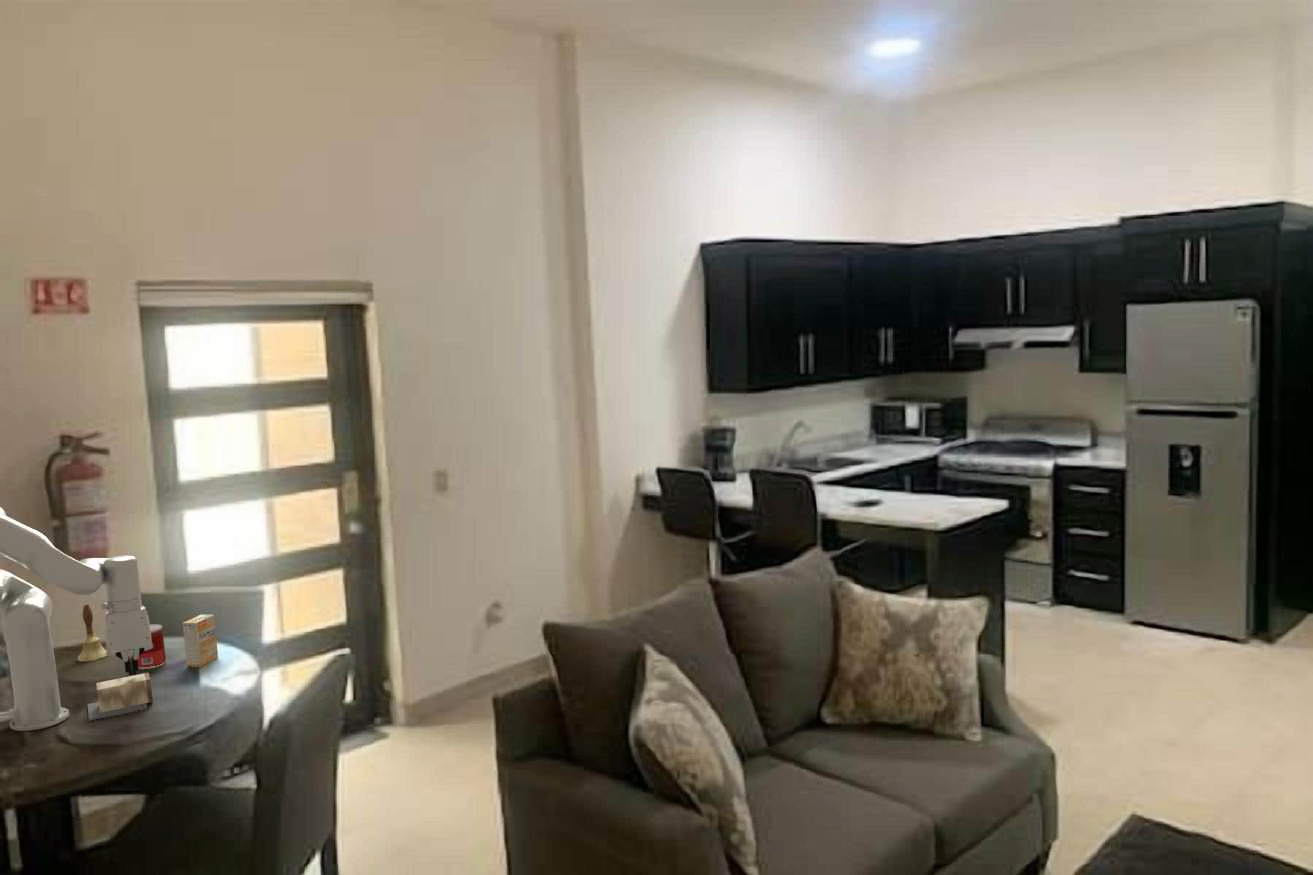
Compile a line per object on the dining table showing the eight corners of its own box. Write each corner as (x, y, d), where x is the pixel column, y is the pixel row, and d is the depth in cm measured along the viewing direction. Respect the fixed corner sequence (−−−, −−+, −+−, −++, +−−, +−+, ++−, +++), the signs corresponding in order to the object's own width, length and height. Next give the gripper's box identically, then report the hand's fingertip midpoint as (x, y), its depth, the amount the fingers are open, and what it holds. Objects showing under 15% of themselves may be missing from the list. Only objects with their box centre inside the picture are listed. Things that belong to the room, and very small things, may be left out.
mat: (89, 721, 253) (88, 719, 252) (87, 706, 263) (87, 704, 263) (147, 708, 259) (147, 706, 259) (143, 694, 269) (143, 692, 269)
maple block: (152, 701, 262) (100, 712, 256) (150, 694, 267) (99, 705, 261) (150, 679, 262) (97, 689, 256) (148, 672, 267) (96, 682, 261)
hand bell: (70, 661, 300) (63, 608, 298) (91, 651, 308) (85, 600, 306) (94, 662, 298) (88, 609, 296) (115, 652, 306) (109, 601, 304)
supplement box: (201, 667, 288) (196, 622, 287) (186, 667, 289) (181, 622, 288) (219, 657, 296) (214, 613, 295) (204, 657, 297) (199, 613, 296)
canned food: (171, 662, 294) (167, 626, 292) (145, 672, 287) (140, 634, 286) (156, 659, 298) (152, 622, 297) (129, 667, 291) (125, 630, 290)
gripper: (92, 613, 253) (100, 684, 255) (158, 602, 260) (165, 672, 263) (91, 606, 259) (98, 676, 262) (156, 596, 267) (163, 664, 269)
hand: (132, 674), depth 262 cm, fingers closed
